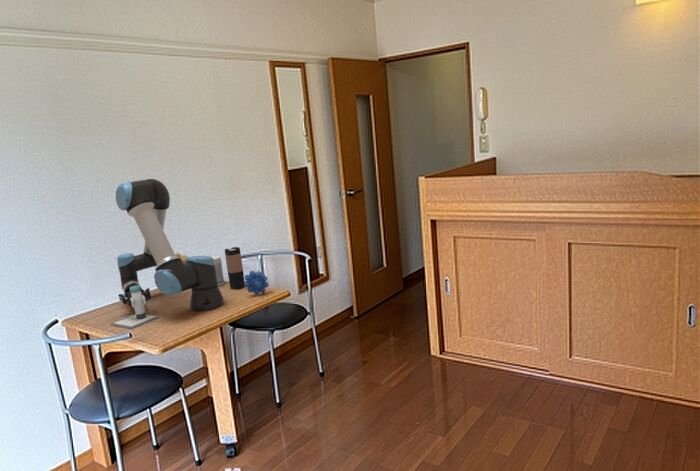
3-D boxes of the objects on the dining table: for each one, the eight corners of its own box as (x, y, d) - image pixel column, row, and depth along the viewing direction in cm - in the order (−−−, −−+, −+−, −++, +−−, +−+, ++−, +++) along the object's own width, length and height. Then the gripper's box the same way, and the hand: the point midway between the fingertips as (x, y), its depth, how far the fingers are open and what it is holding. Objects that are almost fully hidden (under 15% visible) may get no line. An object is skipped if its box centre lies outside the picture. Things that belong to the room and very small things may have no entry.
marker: (148, 315, 230) (141, 285, 227) (140, 319, 226) (133, 288, 224) (142, 315, 232) (135, 285, 229) (134, 318, 229) (127, 288, 226)
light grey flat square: (158, 317, 230) (158, 314, 230) (131, 329, 218) (130, 326, 218) (138, 314, 237) (138, 311, 237) (110, 325, 226) (110, 322, 225)
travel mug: (241, 289, 260) (236, 250, 256) (227, 289, 262) (221, 251, 258) (247, 284, 267) (242, 246, 264) (233, 285, 269) (228, 247, 265)
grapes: (248, 299, 243) (244, 274, 240) (244, 296, 249) (240, 271, 246) (272, 294, 248) (269, 269, 245) (267, 290, 254) (264, 266, 251)
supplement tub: (203, 288, 269) (199, 260, 266) (208, 283, 278) (204, 256, 275) (222, 286, 268) (218, 259, 265) (226, 281, 278) (222, 254, 275)
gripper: (153, 294, 249) (161, 306, 228) (114, 302, 241) (119, 316, 221) (150, 279, 247) (158, 290, 227) (111, 287, 240) (115, 299, 219)
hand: (139, 302), depth 224 cm, fingers closed on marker, 4 cm apart
